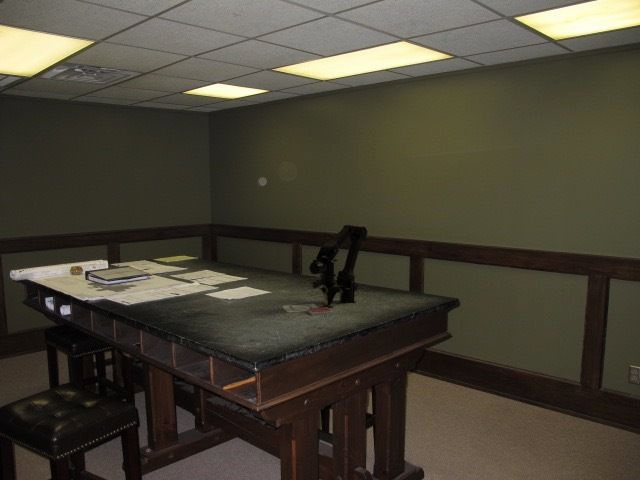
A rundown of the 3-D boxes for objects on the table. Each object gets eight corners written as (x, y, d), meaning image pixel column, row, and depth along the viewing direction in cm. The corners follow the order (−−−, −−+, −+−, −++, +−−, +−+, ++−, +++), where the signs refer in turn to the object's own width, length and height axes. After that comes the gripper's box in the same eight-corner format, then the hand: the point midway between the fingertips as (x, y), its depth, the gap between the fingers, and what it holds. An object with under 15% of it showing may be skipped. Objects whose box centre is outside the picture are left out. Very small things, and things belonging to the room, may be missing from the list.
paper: (313, 304, 248) (313, 303, 248) (321, 310, 237) (321, 309, 237) (281, 306, 244) (281, 305, 244) (287, 312, 232) (287, 311, 232)
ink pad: (327, 309, 238) (327, 306, 238) (332, 313, 230) (332, 310, 230) (306, 311, 235) (306, 308, 235) (311, 315, 227) (311, 312, 227)
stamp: (331, 305, 246) (331, 290, 246) (334, 307, 242) (334, 292, 241) (321, 306, 245) (321, 290, 244) (324, 308, 240) (324, 293, 239)
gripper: (306, 269, 248) (306, 300, 250) (317, 275, 230) (317, 309, 232) (328, 268, 251) (327, 299, 253) (341, 274, 234) (340, 308, 235)
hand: (328, 303), depth 243 cm, fingers closed on stamp, 4 cm apart
